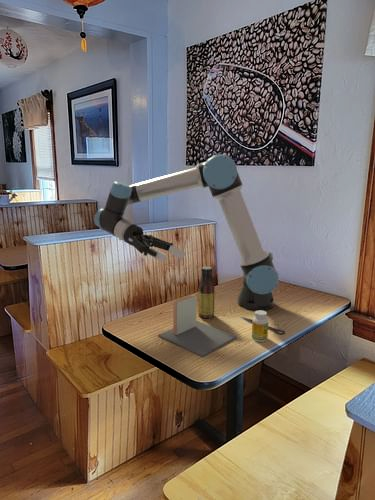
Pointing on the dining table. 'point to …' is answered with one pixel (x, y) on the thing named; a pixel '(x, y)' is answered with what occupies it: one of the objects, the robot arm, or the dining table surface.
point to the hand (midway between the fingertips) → (175, 257)
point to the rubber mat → (199, 338)
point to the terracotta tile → (184, 314)
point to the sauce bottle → (206, 294)
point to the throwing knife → (268, 327)
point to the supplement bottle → (260, 326)
